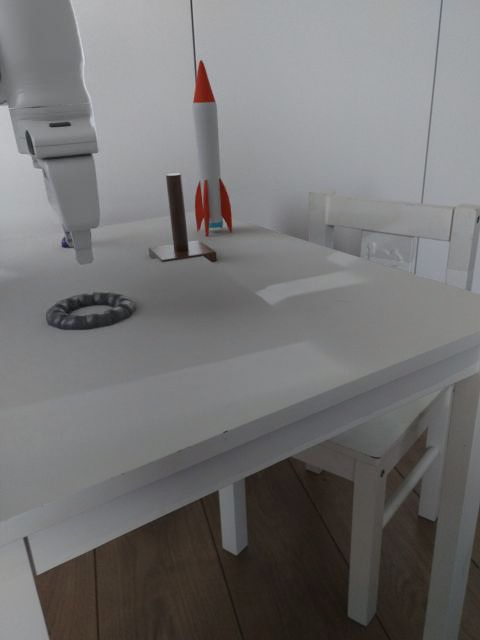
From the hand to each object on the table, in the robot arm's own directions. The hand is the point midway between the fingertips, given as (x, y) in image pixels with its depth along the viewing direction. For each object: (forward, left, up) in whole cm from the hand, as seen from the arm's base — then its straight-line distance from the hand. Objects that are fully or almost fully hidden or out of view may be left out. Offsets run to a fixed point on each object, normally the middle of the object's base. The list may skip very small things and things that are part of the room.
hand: (79, 253), depth 70 cm
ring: (0, -4, -7) cm, 8 cm away
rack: (+18, +18, -8) cm, 27 cm away
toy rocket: (+29, +33, -8) cm, 45 cm away
